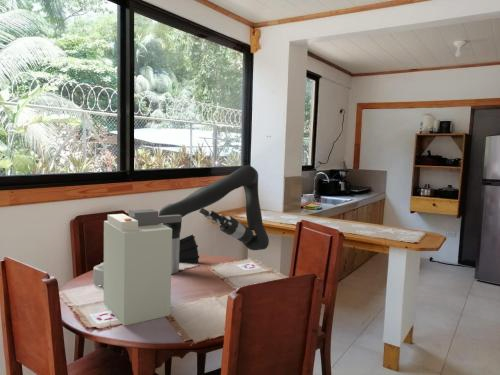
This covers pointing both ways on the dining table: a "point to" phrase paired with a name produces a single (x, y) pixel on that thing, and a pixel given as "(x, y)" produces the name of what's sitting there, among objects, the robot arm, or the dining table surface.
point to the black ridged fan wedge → (188, 250)
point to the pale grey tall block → (137, 269)
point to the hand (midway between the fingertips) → (205, 211)
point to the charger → (152, 217)
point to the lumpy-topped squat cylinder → (98, 274)
